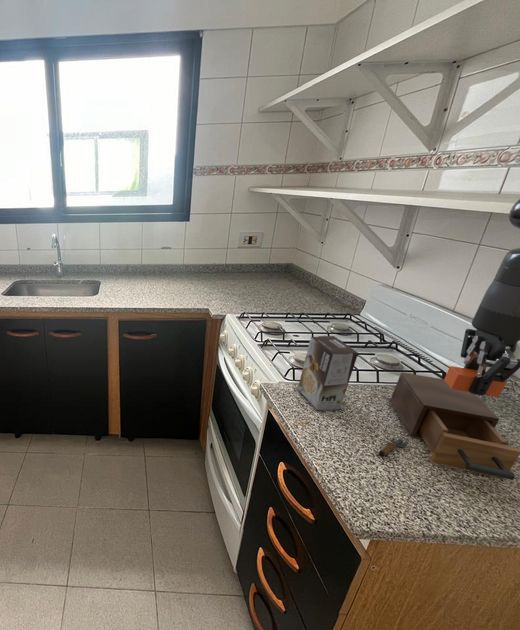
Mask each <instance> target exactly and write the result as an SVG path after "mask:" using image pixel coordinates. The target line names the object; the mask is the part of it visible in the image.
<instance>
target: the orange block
mask: <svg viewBox="0 0 520 630" xmlns="http://www.w3.org/2000/svg"><path fill="white" fill-rule="evenodd" d="M477 371H478V370H473V369H467V368H464V367H461V366H454V365H450V366H449V368H448V369H447V372H446V374H445V376H444V378H443V379H444V381H445V382H446V383H447V384H448V385H449V387H450V388H451V389H455V390H461V391H466V392H470V391H469V388H470V386H471V384H472V382H473V380H474V378H475V376H476V375H477ZM485 372H487V370H486V371H485ZM506 385H507V380H506V381H505V382H498V381H492V383H491V385H490V387H489V388H488V390H487V392H486V394H485V395H484V396H490V397H496V398H500V396H501V394H502V392H503V390H504V389H505V387H506Z"/></svg>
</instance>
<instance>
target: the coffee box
mask: <svg viewBox="0 0 520 630" xmlns="http://www.w3.org/2000/svg"><path fill="white" fill-rule="evenodd" d="M358 355H359V351H357V350H355V349H354V348H352V347H350V346H349V345H348V344H346V343H345V342H343V341H342V340H341V339H339V338H337V337H336V336H334V335H319V336H310V338H309V342H308V347H307V350H306V354H305V358H304V363H303V367H302V369H301V375H300V379H299V382H298V385H297V391H299V392H300V393H301V394H302V395H303V397H304V398H305V399H306V400H307V401H308V402H309V403H310V404H311V406H313V407H314V408H315V409H316V410H317V411H322V410H323V411H327V410H329V411H330V410H340V409H341V408H342V405H343V401H344V399H345V395H346V393H347V389H348V387H349V383H350V380H351V377H352V374H353V371H354V368H355V365H356V361H357V358H358Z"/></svg>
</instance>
